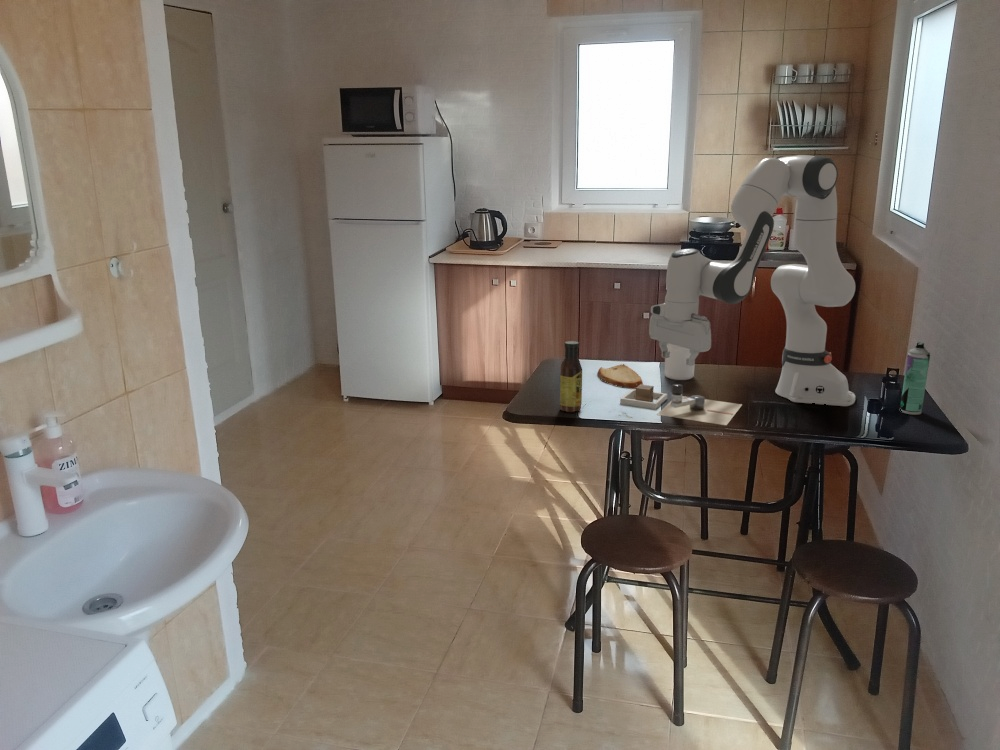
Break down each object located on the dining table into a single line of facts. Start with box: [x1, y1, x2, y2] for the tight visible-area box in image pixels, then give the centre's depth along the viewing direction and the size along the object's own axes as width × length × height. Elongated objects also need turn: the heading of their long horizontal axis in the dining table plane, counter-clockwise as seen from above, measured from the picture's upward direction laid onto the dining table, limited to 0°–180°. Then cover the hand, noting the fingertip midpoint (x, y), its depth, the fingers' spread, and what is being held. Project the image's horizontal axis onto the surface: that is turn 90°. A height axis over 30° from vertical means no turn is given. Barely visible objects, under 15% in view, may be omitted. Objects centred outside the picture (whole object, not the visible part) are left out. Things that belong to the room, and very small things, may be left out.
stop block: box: [635, 384, 655, 402], centre depth 221 cm, size 4×4×5 cm
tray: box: [619, 388, 668, 410], centre depth 222 cm, size 11×11×3 cm
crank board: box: [656, 395, 743, 426], centre depth 214 cm, size 19×20×2 cm
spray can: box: [899, 342, 931, 416], centre depth 213 cm, size 6×6×20 cm
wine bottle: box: [663, 343, 696, 381], centre depth 247 cm, size 10×10×30 cm
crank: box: [670, 383, 706, 410], centre depth 212 cm, size 11×4×8 cm, turn 121°
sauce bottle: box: [559, 340, 583, 413], centre depth 217 cm, size 6×6×20 cm
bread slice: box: [596, 363, 644, 389], centre depth 249 cm, size 18×18×4 cm
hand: (677, 361), depth 206 cm, fingers open, 8 cm apart
